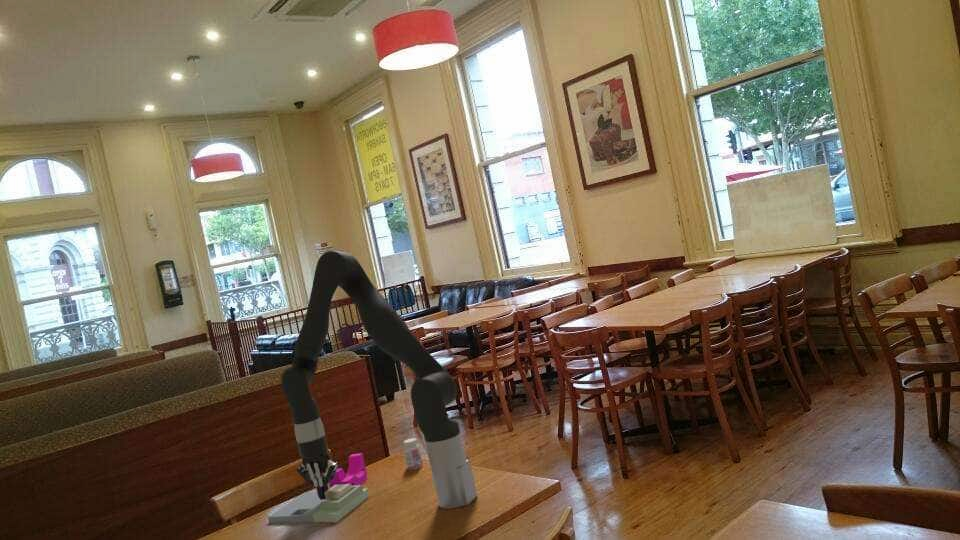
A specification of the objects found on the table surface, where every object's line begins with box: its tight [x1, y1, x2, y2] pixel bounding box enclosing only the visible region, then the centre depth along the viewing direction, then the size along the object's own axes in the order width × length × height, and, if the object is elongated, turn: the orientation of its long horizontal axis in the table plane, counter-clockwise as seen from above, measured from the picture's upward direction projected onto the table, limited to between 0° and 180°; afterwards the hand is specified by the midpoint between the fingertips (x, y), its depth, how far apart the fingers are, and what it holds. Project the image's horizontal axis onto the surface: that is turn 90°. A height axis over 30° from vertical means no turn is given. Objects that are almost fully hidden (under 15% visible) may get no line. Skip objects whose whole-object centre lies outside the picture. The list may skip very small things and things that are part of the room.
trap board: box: [267, 484, 371, 524], centre depth 184 cm, size 22×16×4 cm
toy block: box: [328, 452, 368, 489], centre depth 200 cm, size 15×6×8 cm, turn 162°
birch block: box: [324, 484, 352, 501], centre depth 181 cm, size 5×5×4 cm
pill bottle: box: [403, 437, 424, 470], centre depth 205 cm, size 5×5×8 cm
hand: (324, 498), depth 183 cm, fingers closed
